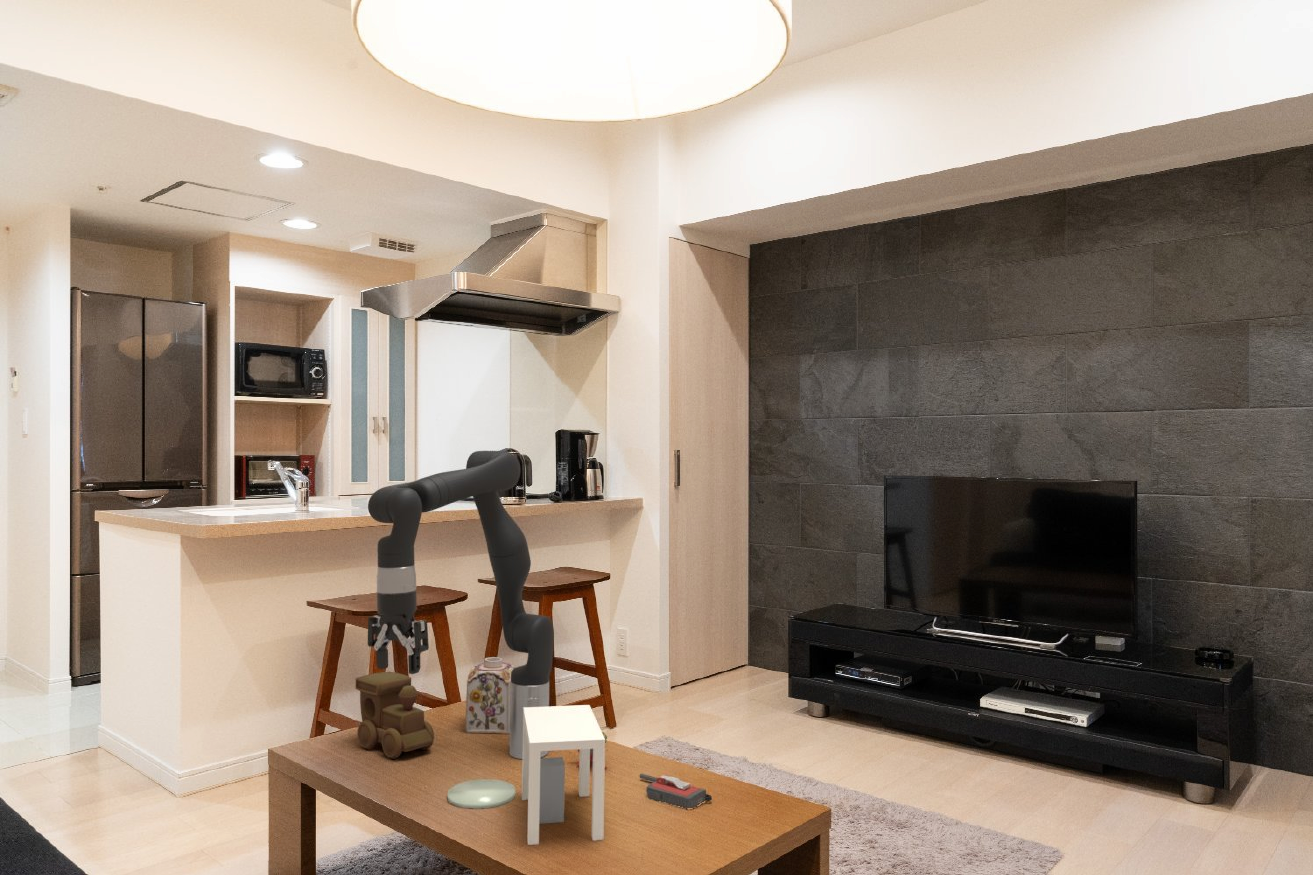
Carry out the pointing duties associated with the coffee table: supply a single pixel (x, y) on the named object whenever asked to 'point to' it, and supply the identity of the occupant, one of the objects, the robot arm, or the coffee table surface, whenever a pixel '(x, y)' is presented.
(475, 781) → the plate
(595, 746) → the white step stool
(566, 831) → the coffee table surface
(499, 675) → the decorative jar
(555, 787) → the block
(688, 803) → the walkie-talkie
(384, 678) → the wooden toy train
